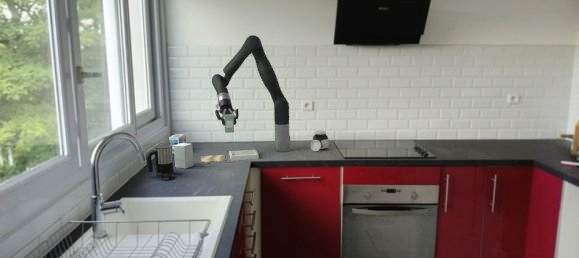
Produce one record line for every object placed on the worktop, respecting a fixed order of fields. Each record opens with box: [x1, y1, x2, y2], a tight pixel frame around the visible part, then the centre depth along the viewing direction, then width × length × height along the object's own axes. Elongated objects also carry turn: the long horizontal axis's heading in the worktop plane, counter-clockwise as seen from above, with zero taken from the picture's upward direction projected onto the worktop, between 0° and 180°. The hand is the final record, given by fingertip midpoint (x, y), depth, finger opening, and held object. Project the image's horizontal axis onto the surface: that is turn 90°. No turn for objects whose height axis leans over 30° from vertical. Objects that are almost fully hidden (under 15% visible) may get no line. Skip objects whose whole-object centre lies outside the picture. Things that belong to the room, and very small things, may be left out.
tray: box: [228, 149, 260, 162], centre depth 250 cm, size 16×14×3 cm
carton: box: [224, 114, 235, 134], centre depth 246 cm, size 5×5×10 cm
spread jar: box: [309, 130, 330, 152], centre depth 267 cm, size 12×11×12 cm
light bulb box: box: [168, 133, 187, 155], centre depth 269 cm, size 11×7×11 cm, turn 168°
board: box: [200, 154, 227, 165], centre depth 247 cm, size 14×14×1 cm
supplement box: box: [173, 142, 195, 170], centre depth 232 cm, size 7×7×13 cm
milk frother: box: [145, 144, 175, 179], centre depth 214 cm, size 14×16×15 cm
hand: (229, 124), depth 244 cm, fingers closed on carton, 5 cm apart
